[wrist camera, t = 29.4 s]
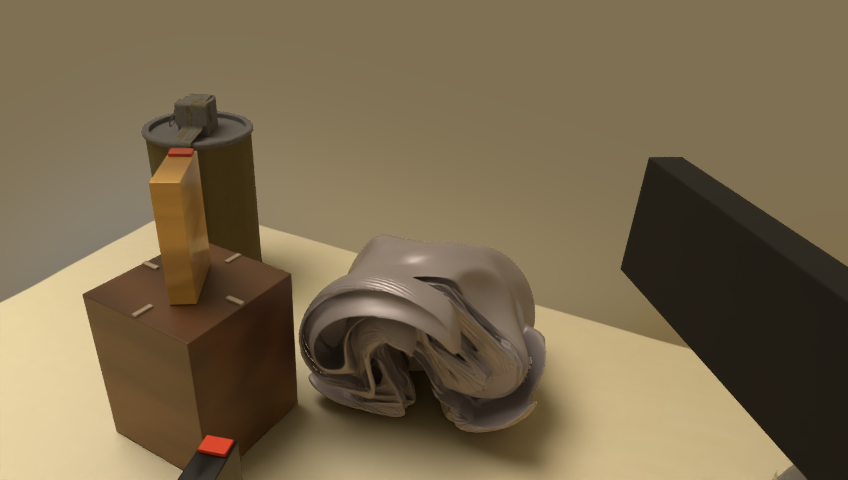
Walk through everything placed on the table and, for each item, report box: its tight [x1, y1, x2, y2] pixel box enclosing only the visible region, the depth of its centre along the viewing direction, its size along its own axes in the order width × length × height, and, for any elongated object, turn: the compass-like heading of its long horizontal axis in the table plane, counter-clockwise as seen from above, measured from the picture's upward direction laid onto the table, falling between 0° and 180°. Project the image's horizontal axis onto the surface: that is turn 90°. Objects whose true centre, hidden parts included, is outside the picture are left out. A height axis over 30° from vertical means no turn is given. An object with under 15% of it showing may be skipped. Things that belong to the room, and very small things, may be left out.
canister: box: [142, 94, 262, 263], centre depth 63 cm, size 11×10×20 cm
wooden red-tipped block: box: [149, 148, 211, 305], centre depth 41 cm, size 6×2×9 cm, turn 7°
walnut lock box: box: [83, 243, 298, 470], centre depth 46 cm, size 10×10×13 cm
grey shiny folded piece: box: [299, 235, 546, 432], centre depth 50 cm, size 20×18×15 cm
